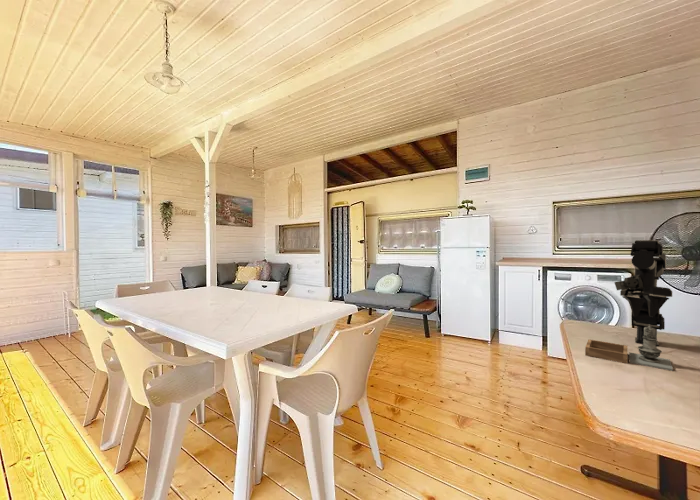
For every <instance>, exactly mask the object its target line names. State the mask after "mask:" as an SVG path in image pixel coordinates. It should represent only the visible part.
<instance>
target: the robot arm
mask: <svg viewBox="0 0 700 500" xmlns="http://www.w3.org/2000/svg"><path fill="white" fill-rule="evenodd" d="M630 249H631V250H630V257H632V258H631V264H632V265H633V267H634V275H631V276H629V277H624V280H618V281H614V282H613V283H614V285H615V288H616V291H620V292H619V293H620V294H619V295H620V296H621V297H622V298H623V299H625V300H626V301H627V302H628V304H629V307H630V309H631V326H633V327H636V337H634V341H635V343H636V344H637V343H638V344H643V338H642V337H643V336H644V328H645V327H648V326H649V324H650V325H651V327H653V328H654V329H655V330H656V338H657V340H656V347H659V346H660V344H659V341H658V330H660V331H662V330H665V325H666V324H665V317H664V316H663V314H662V313H660V309H661V308H662V307H663V305H665V303H666V302H667V301H668V300H670V298H672V297H673V290H671V288H669V287H663V286H658V281H659V280H660V277H661V276H662V275H663V274H664V270H666V267H667V255H666V254H665V253H664V245H663V244H662V243H660V242H659V240H657V239H655V240H654V239H651V240H650V239H648V240H646V239H645V240H643V239H641V240H640V239H639V240H638V239H637V240H635V241H634V243H632V244H631V248H630Z"/></svg>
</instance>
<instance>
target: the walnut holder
mask: <svg viewBox="0 0 700 500" xmlns="http://www.w3.org/2000/svg"><path fill="white" fill-rule="evenodd" d="M584 347H585V348H584V349H585V351H584V352H585V353H584V354H585V356H587V357H591V358H596V359H600V360H601V359H602V360H606V361H611V360H612V362H616V361H617V363H621V362H622V363H623V364H628V348H629V347H628V345H625V344H619V343H613V342H606V341H602V340H594V339H587V342H586V344H585V346H584Z"/></svg>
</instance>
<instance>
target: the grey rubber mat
mask: <svg viewBox="0 0 700 500" xmlns="http://www.w3.org/2000/svg"><path fill="white" fill-rule="evenodd" d="M640 356H643V355H641V354H640V353H634V352H629V353H628V357H629V358H628V360H629V362H630V364H635V365H640V366H646V367H650V368H656V369H661V370H666V371H670V372H674V367H673V365H672V362H671V359H669V358H665V357H660V356H659V357H657V358H656V359H658V360H659V361H660V363H651V362H646V361H643V360H640V359H639V358H638V357H640Z"/></svg>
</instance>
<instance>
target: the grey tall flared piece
mask: <svg viewBox="0 0 700 500" xmlns="http://www.w3.org/2000/svg"><path fill="white" fill-rule="evenodd" d="M642 338H643V343H642V345H639V346H637V347H636V348H637V349H638V352H639V354H641V355H643V356H640V357H638V358H639V359H640V360H643V361H646V362H651V363H660V361H659V360H658V359H656V358H657V357H659V358H660V356H661V353H662V350H661V349H659V348H658V346H656V340H657V341H658V337H657V338H656V330H655V329H654V328H653V327H651V325H650V324H649V326H648V327H645V328H644V336H643V337H642Z"/></svg>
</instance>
